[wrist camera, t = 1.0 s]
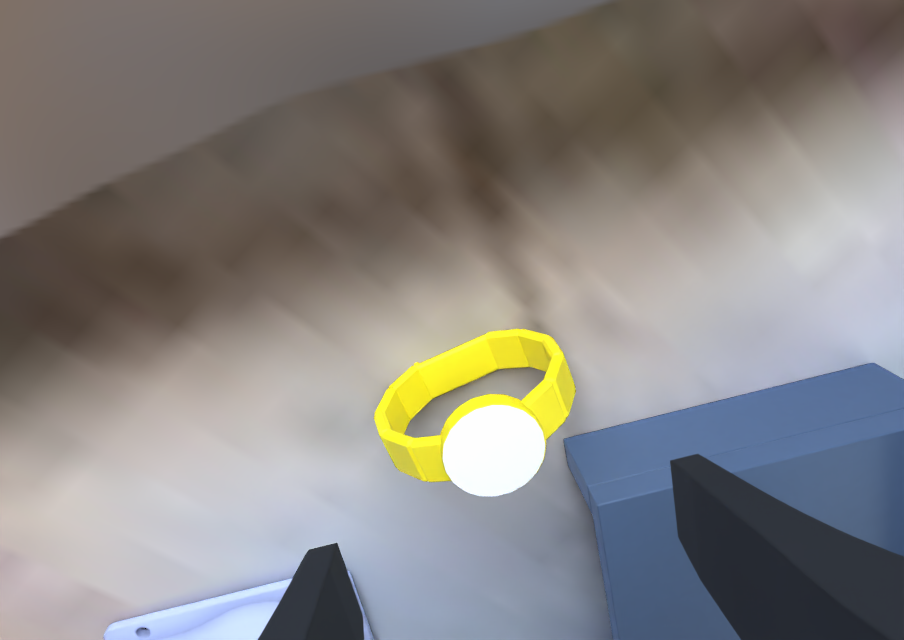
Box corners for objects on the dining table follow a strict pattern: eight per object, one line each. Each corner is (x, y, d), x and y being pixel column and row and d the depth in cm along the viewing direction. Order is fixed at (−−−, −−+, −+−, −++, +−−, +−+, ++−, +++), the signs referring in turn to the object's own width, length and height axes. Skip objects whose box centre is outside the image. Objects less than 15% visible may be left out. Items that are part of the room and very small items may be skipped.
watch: (397, 426, 22) (403, 538, 17) (365, 361, 21) (359, 457, 16) (554, 362, 22) (612, 455, 17) (529, 293, 21) (581, 367, 16)
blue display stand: (603, 668, 28) (654, 801, 22) (563, 438, 23) (613, 537, 18) (865, 601, 28) (975, 718, 23) (873, 361, 23) (1010, 438, 18)
